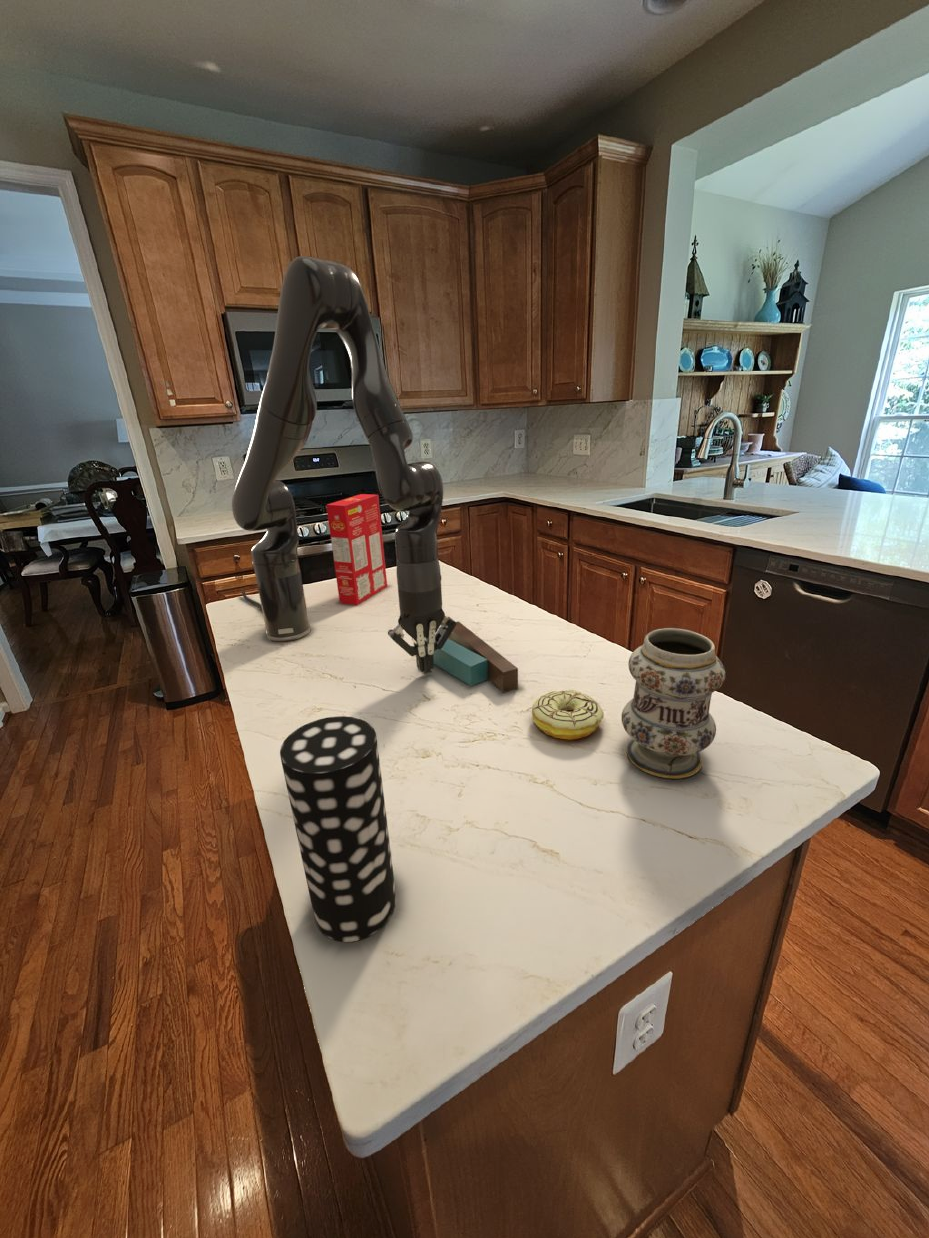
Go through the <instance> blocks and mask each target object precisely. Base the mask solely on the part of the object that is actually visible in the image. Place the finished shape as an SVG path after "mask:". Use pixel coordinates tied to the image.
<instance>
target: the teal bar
mask: <svg viewBox="0 0 929 1238" xmlns="http://www.w3.org/2000/svg"><path fill="white" fill-rule="evenodd" d="M433 659H434V666H437V667H439V668H440V669H442V670H443V671H445V672H446V673H448V674H450V675H451V676H453V677H455V678H457V679H458V680H460V681H462V682H463V683H465V684H467V685H468V686H470V687H473V686H475V685H477V684H480V683H482V682H484V681H486V680H489V679H488V660H487V659H485V658H483V657H482V656H480V655H478V654H476V653H474V652H472V651H470V650H468V649H466V648H464V647H463V646H461V645H459V644H457V643H455V642H453V641H451V640H449V639H447V641H446V642H445V644H444V646H443V647H442V649H437V650H436V651H435V652H434V653H433Z"/></svg>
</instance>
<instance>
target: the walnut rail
mask: <svg viewBox="0 0 929 1238" xmlns="http://www.w3.org/2000/svg"><path fill="white" fill-rule="evenodd" d="M455 622H456V626H455V628H454V629H453V631H452V633H451V634H450V636H449V638H448V639H449V640H451V641H453V642H455V643H457V644H459V645H461V646H463V647H464V648H466V649H468V650H470V651H472V652H474V653H476V654H478V655H480V656H482V657H483V658H485V659H487V660H488V679H487V680H489V681H490V682H491V683H492V684H493V685H494V686H495V687H496V688H498V690H500V691H501V692H502V693H507V692H511V691H513V690H517V689H518V688H519V668H518V667H517V666H516V665H515V664H513V663H512V662H510V660H508V659H507V658H506V657H504V656H503V655H502V654H500V652H498V651H497V650H495V649H494V648H493V647H492V646H490V645H489V644H488V643H487V642H485V641H484V639H482V638H481V637H479V636H478V635H477V634H476V633H474V632H473V631H472V630H471V629H469V628H468V627H466V626H465V625H464V624H462V623H461V621H455Z"/></svg>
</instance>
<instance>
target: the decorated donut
mask: <svg viewBox="0 0 929 1238" xmlns="http://www.w3.org/2000/svg"><path fill="white" fill-rule="evenodd" d="M531 714H532V718H533V719H532V720H533V721H534V723H535V725H536V726H537V728H538V729H539V730H540V731H542V732H544V733H545V734H546V735H548V736H550V737H552V738H555V739H560V740H568V741H573V740H578V739H582V738H585V737H589V736H590V735H591V734H593V733H594V732H595V731H596V730H597V729H598V727H600V723H601V721H602V720H603V719H604V716H605V714H604V711H603V709H602V707H601V705H600V703H598V702H597V701H596V699H594V698H592V697H591V696H589V695H588V694H586V693H582V692H580V691H577V690H575V689H573V690H571V689H569V690H567V689H566V690H558V691H550V692H547V693H546V694H545V693H544V694H543V695H540V696H539V697H538V698H537V699H535V701H534V702H533V703H532V709H531Z"/></svg>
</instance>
